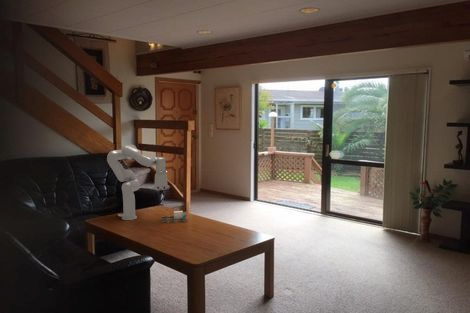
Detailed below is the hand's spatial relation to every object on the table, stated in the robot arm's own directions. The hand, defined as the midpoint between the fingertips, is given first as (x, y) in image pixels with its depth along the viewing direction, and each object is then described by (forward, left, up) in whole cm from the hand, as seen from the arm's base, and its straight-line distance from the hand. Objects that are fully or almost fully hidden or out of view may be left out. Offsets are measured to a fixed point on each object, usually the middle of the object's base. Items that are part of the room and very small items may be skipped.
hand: (161, 194), depth 317 cm
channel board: (+10, 0, -22) cm, 24 cm away
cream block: (+14, 0, -21) cm, 25 cm away
